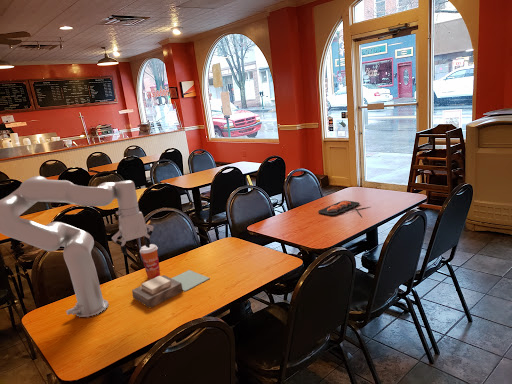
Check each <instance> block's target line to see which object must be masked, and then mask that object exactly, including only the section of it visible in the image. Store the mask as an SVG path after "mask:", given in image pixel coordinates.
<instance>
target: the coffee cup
mask: <svg viewBox="0 0 512 384" xmlns="http://www.w3.org/2000/svg"><path fill="white" fill-rule="evenodd" d="M158 248H159V247H158V246H157V245H156V244H154V243H150V248H148V247H146V246H145V245H142V246H141V247H140V250H139V253H140V255H141V258H142V262H143V266H144V269H145V273H146V276H147V278H148V279H149V280H151V279H153V278H155V277H158V276H161V270H160V262H159V255H158Z"/></svg>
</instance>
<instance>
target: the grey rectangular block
mask: <svg viewBox="0 0 512 384" xmlns="http://www.w3.org/2000/svg"><path fill="white" fill-rule="evenodd" d="M160 276H161V277H164V278H166V279H168V280H170V281H171V285H170V286H168V287H166V288H164V289H162V290H160V291H158V292H156V293H154V294H152V293H150V292H148V291H146V290H144V289H142V286H141V285H140V286H137V287H135V288H133V289H131V292H132V293H131V294H132V297H133V299H134V298H135V299H136V300H135V299H134V300H135V301H137V300H138V301H137V302H139V301H140V302H141V304H142V303H143V304H142V305H144V304H145V305H146V306H145V305H144V306H145V307H147V306H148V307H147V308H149V307H152V308H154V307H156V306H158V305H159V303H160V304H162V303H163V301H164V302H165V301H167V300H169V299H171V298H173V297H175V296H177V295H179V294H181V293H182V291H183V289H182V284H181V283H180V282H178V281H176V280H174V279H171V278H172V277H169V276H167V275H160ZM180 292H181V293H180ZM183 292H184V291H183ZM140 302H139V303H140ZM161 302H162V303H161ZM157 304H158V305H157ZM155 305H156V306H155ZM153 306H154V307H153Z"/></svg>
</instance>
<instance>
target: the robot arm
mask: <svg viewBox="0 0 512 384" xmlns="http://www.w3.org/2000/svg"><path fill="white" fill-rule="evenodd" d="M115 199H116V200H117V205H118V210H117V211H115V214H116V215H117V216H118V215H119V216H118V229H119V230H118V231H117V232H116V233H114V235H113V236H112V237H111V240H113V242H114V243H115V244H117V245H119V247H120V250H121V253H122V254H123V255H125V256H127V255H128V252H127V251H128V250H127V245H125V244H126V242H129V241H132V240H135V239H139V238H143V237H144V238H143V239H144V246H146V247H148V248H150V244H151V241H150V238H151V235H152V234H153V232H154V225H151V224H147V223H146V221H145V218H144V214H143V212H142V211H140V208H139V201H138V196H137V191H136V185H135V182H134V181H133V180H130V179H129V180H127V179H126V180H121V181H114V182H113V181H110V182H109V181H108V182H107V181H105V182H102V183H100V184H98V185H97V186H86V185H85V186H84V185H78V184H74V183H73V182H71V181H69V180H66V179H62V180H61V179H60V180H59V179H48V178H46V177H45V176H41V175H35V176H32V177H30V178H29V177H28V179H26V180H24V181H22V182H21V184H20V186H19V187H18V188H17V189H15V190H14V191H12V192H11V193H10V194H9V195H7V196H5V197H3V198H1V199H0V234H1V235H3V236H6V237H8V238H11V239H13V240H17V241H20V242H22V243H24V244H27V245H30V246H32V247H35V248H38V249H40V250H44V251H46V252H55V251H57V250H58V249H60V247H62V248H63V247H64V248H63V254H62V255H63V260H64V261H65V264H66V267H67V269H68V272H69V276H70V280H71V283H72V287H73V290H74V294H75V298H76V301H77V302H75V305H74V306H73V307H72V308H69V309H67V310H65V312H66V315H67V316H69V315H73V316H74V315H76V317H78V316H79V317H78V318H80V317H87V318H90V317H89V316H92V317H94V316H93V315H95V316H97V315H99V313H100V312H101V313H103V312H104V311H105V310H106V308H107V309H108V307H109V301H108V300H107V299H104V297H103V294H102V289H101V285H100V281H99V277H98V272H97V268H96V266H95V262H94V259H93V257H92V250H93V248H94V245H95V241H94V237H93V236H92V235H91V234H90V233H89V232H88V231H85V230H83V229H80V228H77V227H75V226H73V225H70V224H67V223H65V222H62V221H52V222H49V223H47V224H46V225H45V224H41V223H39V222H36V221H33V220H31V219H27V218H26V219H25V218H22V217H20V216H21V215H22V214H23V213H25V212H26V211H28V210H29V209H30V208H31V207H33V205H35V204H36V203H38V202H41V203H42V202H43V203H44V202H45V203H67V204H69V205H70V204H71V205H76V206H83V207H106V206H108V205H110V204H111V203H112V202H113V201H114V200H115ZM119 237H120V238H121V239H120V240H119V239H118V238H119ZM103 310H104V311H103ZM102 311H103V312H102ZM101 313H100V314H101ZM96 314H97V315H96Z"/></svg>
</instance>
